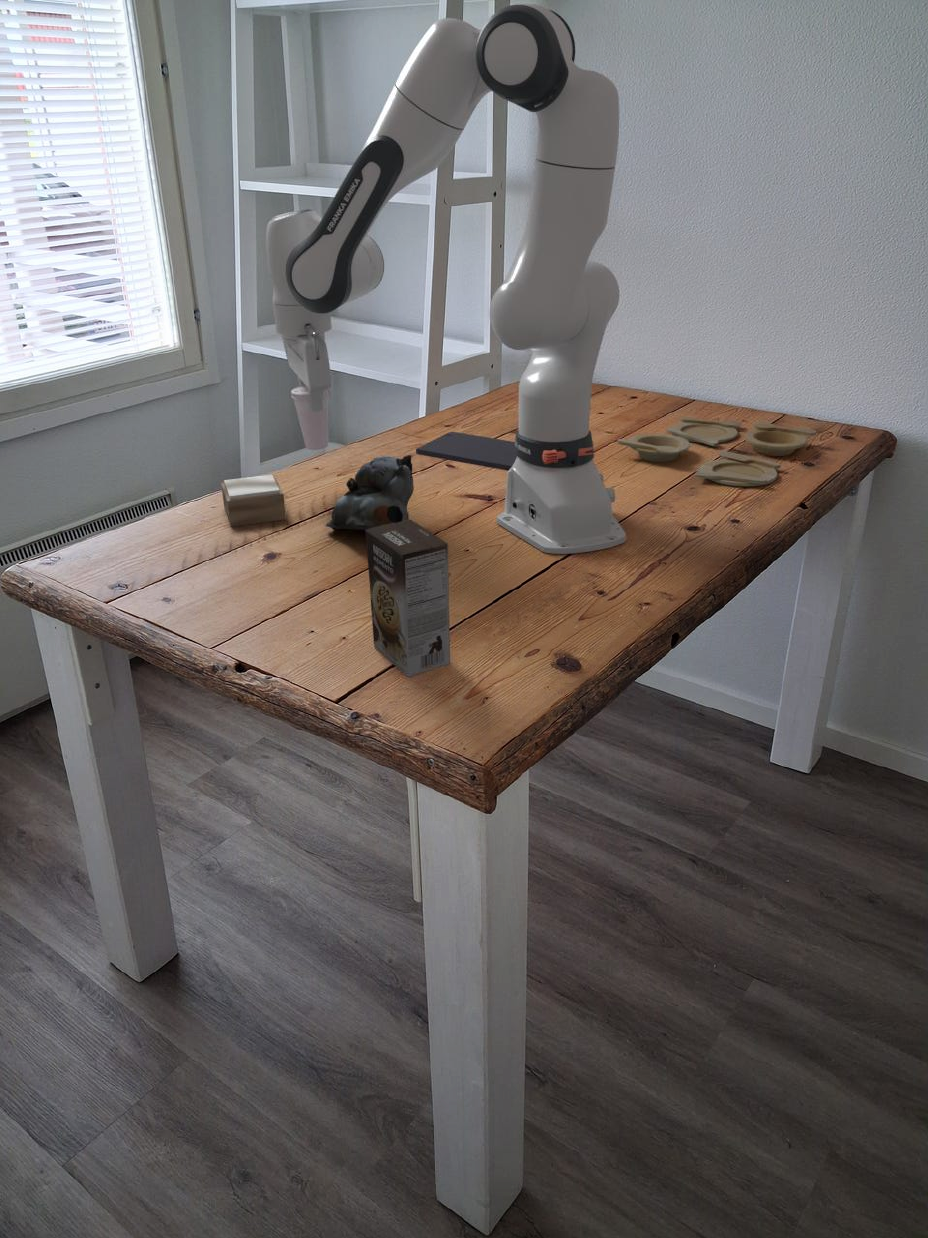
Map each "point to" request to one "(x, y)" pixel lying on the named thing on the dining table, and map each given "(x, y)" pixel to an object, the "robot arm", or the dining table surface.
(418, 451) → the notebook
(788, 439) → the tableware set
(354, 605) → the dining table surface
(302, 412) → the smoothie
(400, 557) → the coffee box
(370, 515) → the grey lumpy figure
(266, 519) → the pedestal
